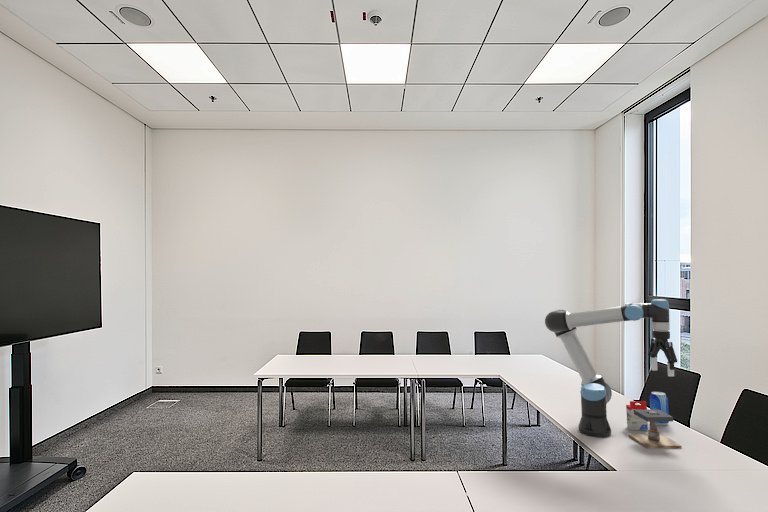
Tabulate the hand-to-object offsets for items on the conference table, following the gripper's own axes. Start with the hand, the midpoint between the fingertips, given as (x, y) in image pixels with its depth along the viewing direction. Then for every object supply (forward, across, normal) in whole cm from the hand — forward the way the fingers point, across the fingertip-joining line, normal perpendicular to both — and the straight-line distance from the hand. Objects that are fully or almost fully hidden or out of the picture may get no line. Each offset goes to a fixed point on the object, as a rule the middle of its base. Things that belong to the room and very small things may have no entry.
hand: (662, 373), depth 227 cm
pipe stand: (+30, -9, +10) cm, 33 cm away
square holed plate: (+19, -9, +10) cm, 23 cm away
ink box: (+31, +10, +8) cm, 33 cm away
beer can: (+31, +18, -8) cm, 36 cm away
